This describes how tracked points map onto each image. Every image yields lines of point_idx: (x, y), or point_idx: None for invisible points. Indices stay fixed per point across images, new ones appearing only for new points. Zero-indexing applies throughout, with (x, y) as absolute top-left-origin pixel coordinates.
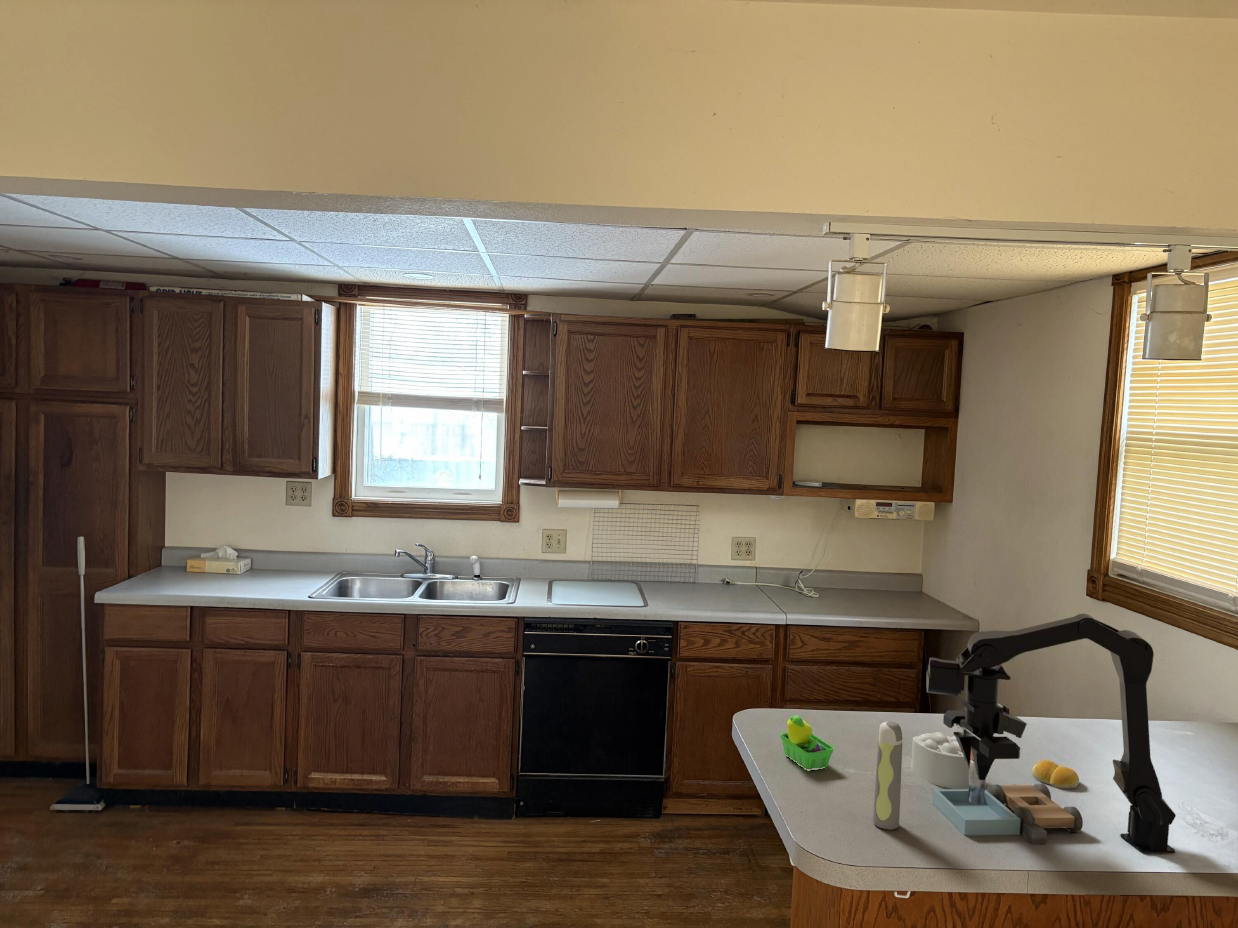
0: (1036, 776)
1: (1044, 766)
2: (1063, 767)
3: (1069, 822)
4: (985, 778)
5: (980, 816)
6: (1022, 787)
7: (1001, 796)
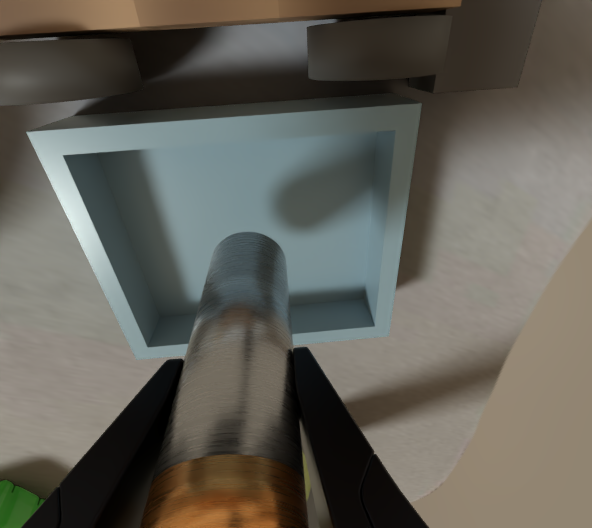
0: None
1: None
2: None
3: None
4: (310, 352)
5: (265, 216)
6: None
7: (120, 68)
